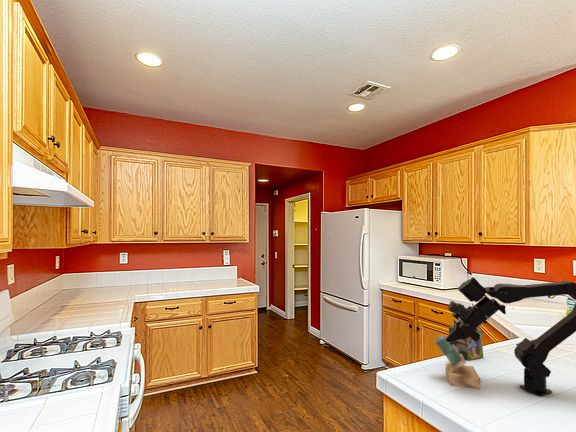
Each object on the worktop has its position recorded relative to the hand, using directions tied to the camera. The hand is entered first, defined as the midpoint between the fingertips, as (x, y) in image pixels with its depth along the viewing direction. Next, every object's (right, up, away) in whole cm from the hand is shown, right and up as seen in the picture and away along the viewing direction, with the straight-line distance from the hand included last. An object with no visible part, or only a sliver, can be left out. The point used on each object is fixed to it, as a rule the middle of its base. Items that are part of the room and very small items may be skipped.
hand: (446, 340), depth 116 cm
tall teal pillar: (+3, -8, -1) cm, 8 cm away
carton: (+4, -13, -2) cm, 14 cm away
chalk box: (+18, -14, +21) cm, 31 cm away
